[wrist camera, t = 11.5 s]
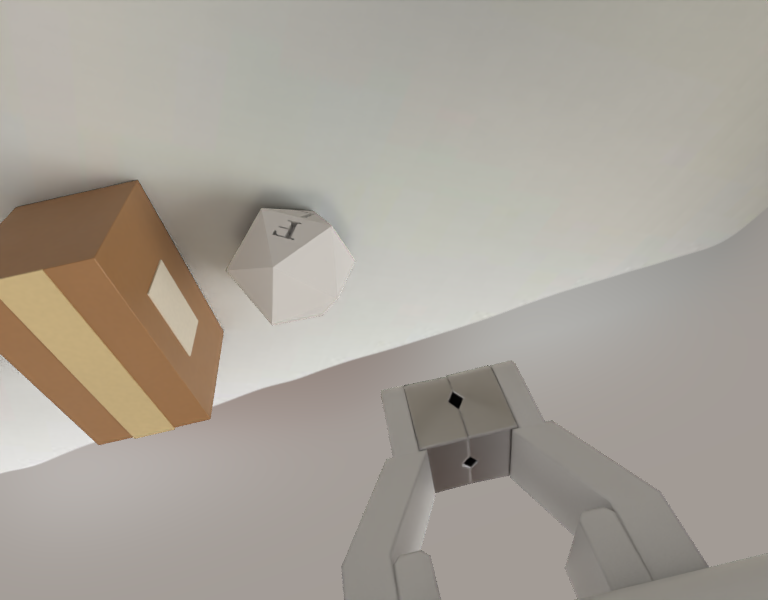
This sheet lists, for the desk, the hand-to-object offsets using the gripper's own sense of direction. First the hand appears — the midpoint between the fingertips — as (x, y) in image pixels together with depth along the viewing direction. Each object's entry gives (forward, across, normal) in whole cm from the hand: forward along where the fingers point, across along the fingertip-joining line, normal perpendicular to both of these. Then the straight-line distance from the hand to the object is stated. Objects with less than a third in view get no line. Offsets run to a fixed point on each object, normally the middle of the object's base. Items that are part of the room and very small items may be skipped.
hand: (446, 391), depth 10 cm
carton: (+27, +20, +12) cm, 36 cm away
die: (+27, +7, +12) cm, 30 cm away
